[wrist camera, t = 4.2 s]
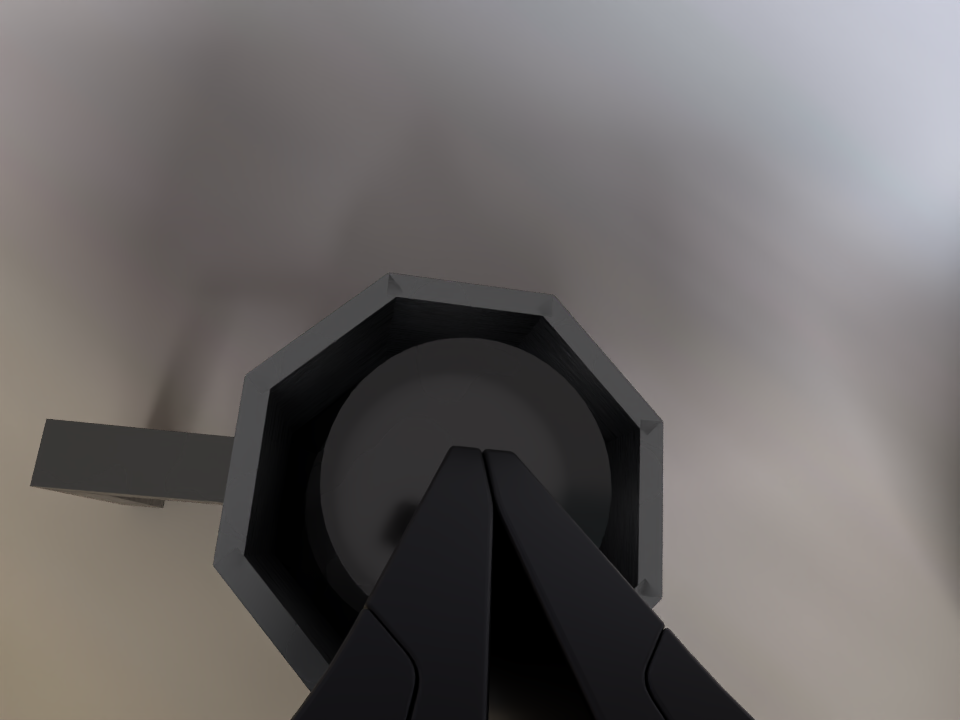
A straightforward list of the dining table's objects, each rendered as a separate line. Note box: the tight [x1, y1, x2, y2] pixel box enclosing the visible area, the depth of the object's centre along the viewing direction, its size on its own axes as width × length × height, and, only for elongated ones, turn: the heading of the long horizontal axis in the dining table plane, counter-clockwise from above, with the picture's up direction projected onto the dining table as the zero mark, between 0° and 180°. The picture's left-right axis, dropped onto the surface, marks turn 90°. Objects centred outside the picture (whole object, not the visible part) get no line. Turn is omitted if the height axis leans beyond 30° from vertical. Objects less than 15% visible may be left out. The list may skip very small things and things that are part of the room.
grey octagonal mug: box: [30, 273, 663, 692], centre depth 13 cm, size 7×10×5 cm
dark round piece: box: [305, 338, 611, 613], centre depth 12 cm, size 5×5×6 cm
